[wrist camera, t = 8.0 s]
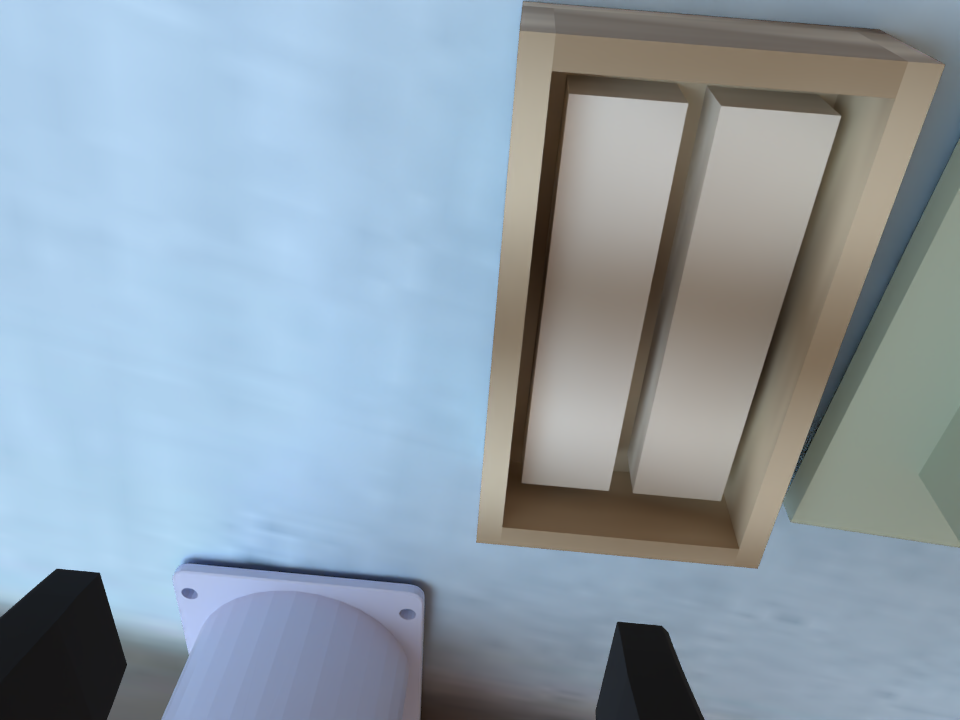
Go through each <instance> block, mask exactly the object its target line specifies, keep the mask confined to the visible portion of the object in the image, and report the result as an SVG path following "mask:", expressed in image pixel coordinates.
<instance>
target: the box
mask: <svg viewBox="0 0 960 720" xmlns="http://www.w3.org/2000/svg"><path fill="white" fill-rule="evenodd" d="M944 67H945V64H943V63H941V62H940V61H938V60H936V59H934V58H932V57H930V56H928V55H926V54H924V53H923V52H921V51H919V50H917V49H915V48H913V47H911V46H909V45H908V44H906V43H904V42H902V41H900V40H898V39H896V38H894V37H893V36H891V35H889V34H887V33H885V32H883V31H881V30H879V29H867V28H854V27H842V26H829V25H816V24H804V23H791V22H778V21H766V20H753V19H740V18H728V17H715V16H702V15H689V14H677V13H664V12H651V11H639V10H626V9H613V8H601V7H588V6H575V5H563V4H550V3H537V2H525V1H523V6H522V15H521V23H520V32H519V44H518V56H517V68H516V80H515V92H514V103H513V115H512V127H511V139H510V151H509V162H508V174H507V186H506V198H505V210H504V221H503V233H502V245H501V257H500V269H499V280H498V292H497V304H496V316H495V328H494V339H493V351H492V363H491V375H490V387H489V398H488V410H487V422H486V434H485V446H484V457H483V469H482V481H481V493H480V505H479V517H478V528H477V540H476V542H477V543H488V544H498V545H509V546H520V547H531V548H541V549H552V550H563V551H574V552H585V553H595V554H606V555H617V556H628V557H638V558H649V559H660V560H671V561H681V562H692V563H703V564H714V565H725V566H735V567H746V568H757V569H758V566H759V564H760V561H761V558H762V556H763V553H764V550H765V548H766V545H767V542H768V539H769V537H770V534H771V531H772V529H773V526H774V523H775V521H776V518H777V515H778V513H779V510H780V507H781V505H782V502H783V499H784V497H785V494H786V491H787V488H788V486H789V483H790V480H791V478H792V475H793V472H794V470H795V467H796V464H797V462H798V459H799V456H800V454H801V451H802V448H803V445H804V443H805V440H806V437H807V435H808V432H809V429H810V427H811V424H812V421H813V419H814V416H815V413H816V411H817V408H818V405H819V402H820V400H821V397H822V394H823V392H824V389H825V386H826V384H827V381H828V378H829V376H830V373H831V370H832V368H833V365H834V362H835V359H836V357H837V354H838V351H839V349H840V346H841V343H842V341H843V338H844V335H845V333H846V330H847V327H848V325H849V322H850V319H851V317H852V314H853V311H854V308H855V306H856V303H857V300H858V298H859V295H860V292H861V290H862V287H863V284H864V282H865V279H866V276H867V274H868V271H869V268H870V265H871V263H872V260H873V257H874V255H875V252H876V249H877V247H878V244H879V241H880V239H881V236H882V233H883V231H884V228H885V225H886V222H887V220H888V217H889V214H890V212H891V209H892V206H893V204H894V201H895V198H896V196H897V193H898V190H899V188H900V185H901V182H902V180H903V177H904V174H905V171H906V169H907V166H908V163H909V161H910V158H911V155H912V153H913V150H914V147H915V145H916V142H917V139H918V137H919V134H920V131H921V128H922V126H923V123H924V120H925V118H926V115H927V112H928V110H929V107H930V104H931V102H932V99H933V96H934V94H935V91H936V88H937V85H938V83H939V80H940V77H941V75H942V72H943V69H944Z"/></svg>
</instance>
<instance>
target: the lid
mask: <svg viewBox="0 0 960 720" xmlns="http://www.w3.org/2000/svg"><path fill="white" fill-rule="evenodd" d="M783 504H784V506H785V509H786V512H787V514H788V517H789V520H790V522H793V523H799V524H806V525H812V526H819V527H826V528H832V529H839V530H845V531H852V532H859V533H865V534H872V535H879V536H885V537H892V538H898V539H905V540H912V541H918V542H925V543H931V544H938V545H945V546H951V547H958V548H960V139H959V141H958V143H957V145H956V147H955V149H954V151H953V153H952V155H951V157H950V159H949V161H948V163H947V165H946V168H945V170H944V172H943V174H942V176H941V178H940V180H939V182H938V184H937V186H936V188H935V190H934V192H933V194H932V196H931V198H930V200H929V202H928V204H927V206H926V209H925V211H924V213H923V215H922V217H921V219H920V221H919V223H918V225H917V227H916V229H915V231H914V233H913V235H912V237H911V239H910V241H909V243H908V245H907V247H906V250H905V252H904V254H903V256H902V258H901V260H900V262H899V264H898V266H897V268H896V270H895V272H894V274H893V276H892V278H891V280H890V282H889V284H888V286H887V288H886V291H885V293H884V295H883V297H882V299H881V301H880V303H879V305H878V307H877V309H876V311H875V313H874V315H873V317H872V319H871V321H870V323H869V325H868V327H867V329H866V332H865V334H864V336H863V338H862V340H861V342H860V344H859V346H858V348H857V350H856V352H855V354H854V356H853V358H852V360H851V362H850V364H849V366H848V368H847V370H846V373H845V375H844V377H843V379H842V381H841V383H840V385H839V387H838V389H837V391H836V393H835V395H834V397H833V399H832V401H831V403H830V405H829V407H828V409H827V411H826V414H825V416H824V418H823V420H822V422H821V424H820V426H819V428H818V430H817V432H816V434H815V436H814V438H813V440H812V442H811V444H810V446H809V448H808V450H807V452H806V455H805V457H804V459H803V461H802V463H801V465H800V467H799V469H798V471H797V473H796V475H795V477H794V479H793V481H792V483H791V485H790V487H789V489H788V491H787V493H786V496H785V498H784V500H783Z"/></svg>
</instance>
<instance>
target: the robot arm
mask: <svg viewBox="0 0 960 720" xmlns="http://www.w3.org/2000/svg"><path fill="white" fill-rule="evenodd" d="M172 581H173V586H174V590H175V594H176V599H177V603H178V608H179V612H180V617H181V621H182V626H183V630H184V635H185V639H186V644H187V648H188V653H189V657H188V660H187V662H186V664H185V667H184V669H183V671H182V673H181V676H180V678H179V680H178V683H177V685H176V687H175V689H174V692H173V694H172V696H171V699H170V701H169V703H168V706H167V708H166V710H165V712H164V715H163V717H162V719H161V720H420V719H421V691H422V663H423V635H424V607H425V595H424V592H423V591H422V590H421V589H420V588H419V587H417V586H415V585H411V584H402V583H392V582H381V581H370V580H360V579H349V578H338V577H328V576H317V575H307V574H296V573H285V572H275V571H264V570H253V569H243V568H232V567H222V566H211V565H200V564H182V565H180V566H178V568H177V569H176V571H175V573H174V575H173V578H172ZM408 609H410V610H408ZM126 666H127V663H126V660H125V656H124V653H123V650H122V646H121V643H120V640H119V636H118V633H117V629H116V626H115V623H114V619H113V616H112V613H111V609H110V606H109V602H108V599H107V596H106V592H105V589H104V585H103V582H102V579H101V575H100V573H96V572H86V571H75V570H65V569H56V570H55V571H53V572H52V573H51V574H50V575H49V576H47V577H46V578H45V579H44V580H43V581H42V582H40V583H39V584H38V585H37V586H36V587H35V588H33V589H32V590H31V591H30V592H29V593H28V594H27V595H25V596H24V597H23V598H22V599H21V600H20V601H19V602H17V603H16V604H15V605H14V606H13V607H12V608H11V609H9V610H8V611H7V612H6V613H5V614H4V615H3V616H1V617H0V720H107V717H108V715H109V712H110V710H111V707H112V705H113V702H114V699H115V696H116V694H117V691H118V688H119V685H120V683H121V680H122V677H123V674H124V672H125V669H126ZM596 720H704V717H703V715H702V713H701V711H700V709H699V707H698V704H697V702H696V700H695V698H694V695H693V693H692V691H691V688H690V686H689V684H688V682H687V679H686V677H685V674H684V672H683V670H682V667H681V665H680V662H679V660H678V657H677V655H676V652H675V650H674V647H673V644H672V642H671V639H670V636H669V633H668V632H667V631H666V630H665V629H664V628H663V627H662V626H657V625H647V624H636V623H625V622H617V625H616V629H615V633H614V637H613V642H612V646H611V650H610V654H609V658H608V662H607V666H606V670H605V675H604V679H603V683H602V687H601V691H600V695H599V699H598V703H597V707H596Z"/></svg>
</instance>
